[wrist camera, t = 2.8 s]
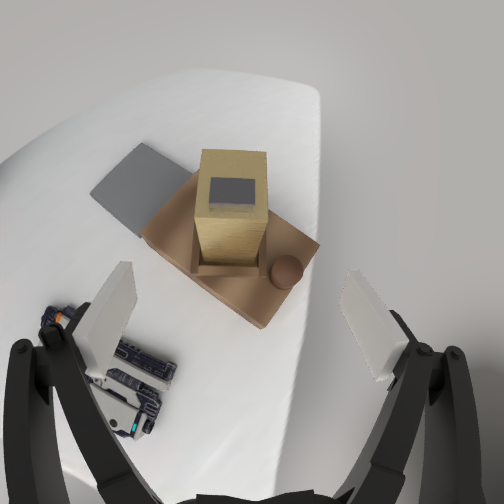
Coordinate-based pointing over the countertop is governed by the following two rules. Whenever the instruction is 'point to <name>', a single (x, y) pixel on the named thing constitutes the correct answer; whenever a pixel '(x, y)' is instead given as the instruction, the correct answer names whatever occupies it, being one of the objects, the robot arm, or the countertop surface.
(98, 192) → the mat
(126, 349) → the toy gun
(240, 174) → the labelled wooden block
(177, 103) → the countertop surface
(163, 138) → the countertop surface
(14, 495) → the robot arm
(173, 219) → the body
